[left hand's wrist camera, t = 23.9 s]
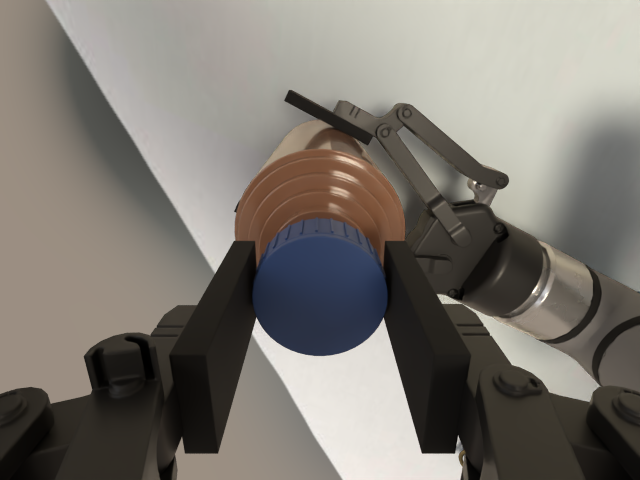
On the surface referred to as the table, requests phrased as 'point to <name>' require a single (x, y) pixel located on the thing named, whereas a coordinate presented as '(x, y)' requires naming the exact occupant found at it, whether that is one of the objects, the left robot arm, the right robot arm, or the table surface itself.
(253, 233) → the bottle
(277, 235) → the cap
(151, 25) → the table surface
